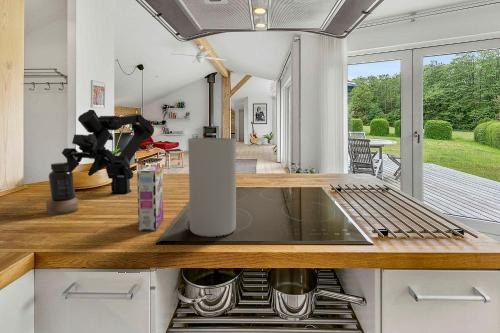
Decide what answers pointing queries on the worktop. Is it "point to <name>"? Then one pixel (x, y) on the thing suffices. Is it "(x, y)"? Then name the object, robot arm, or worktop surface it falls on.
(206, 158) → the cylinder vase
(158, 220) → the candy bar box
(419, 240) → the worktop surface
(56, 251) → the worktop surface
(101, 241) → the worktop surface
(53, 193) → the supplement bottle
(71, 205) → the walnut plinth
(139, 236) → the worktop surface
